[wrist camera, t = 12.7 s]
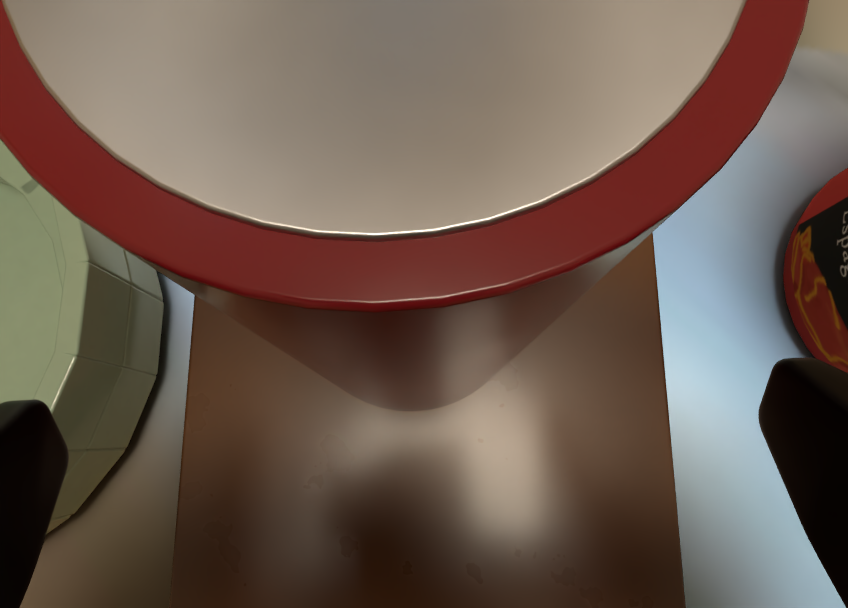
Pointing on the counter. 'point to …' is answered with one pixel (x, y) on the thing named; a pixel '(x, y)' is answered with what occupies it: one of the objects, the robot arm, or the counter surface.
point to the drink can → (386, 156)
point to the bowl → (74, 329)
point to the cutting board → (436, 474)
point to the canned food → (821, 274)
